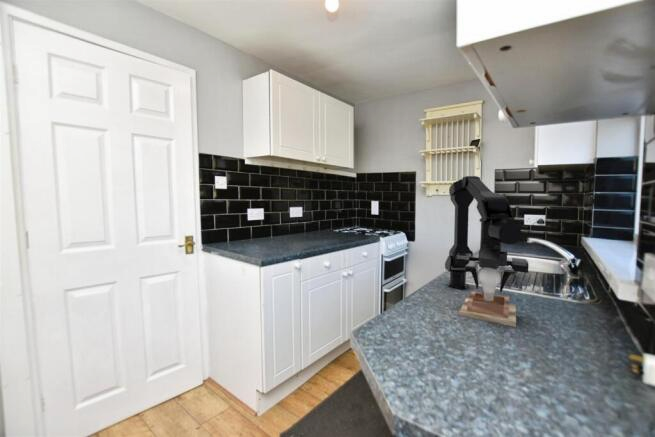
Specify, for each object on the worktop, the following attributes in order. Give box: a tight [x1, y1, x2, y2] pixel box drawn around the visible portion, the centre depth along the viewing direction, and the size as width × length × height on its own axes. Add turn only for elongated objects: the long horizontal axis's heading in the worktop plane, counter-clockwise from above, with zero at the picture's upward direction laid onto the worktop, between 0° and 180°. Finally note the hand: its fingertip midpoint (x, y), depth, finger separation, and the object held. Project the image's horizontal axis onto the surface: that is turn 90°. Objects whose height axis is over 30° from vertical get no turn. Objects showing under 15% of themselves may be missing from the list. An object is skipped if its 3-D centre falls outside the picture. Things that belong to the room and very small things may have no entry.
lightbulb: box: [478, 267, 503, 302], centre depth 88 cm, size 6×6×11 cm
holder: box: [459, 290, 517, 328], centre depth 89 cm, size 14×14×4 cm
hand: (488, 290), depth 89 cm, fingers closed on lightbulb, 6 cm apart
